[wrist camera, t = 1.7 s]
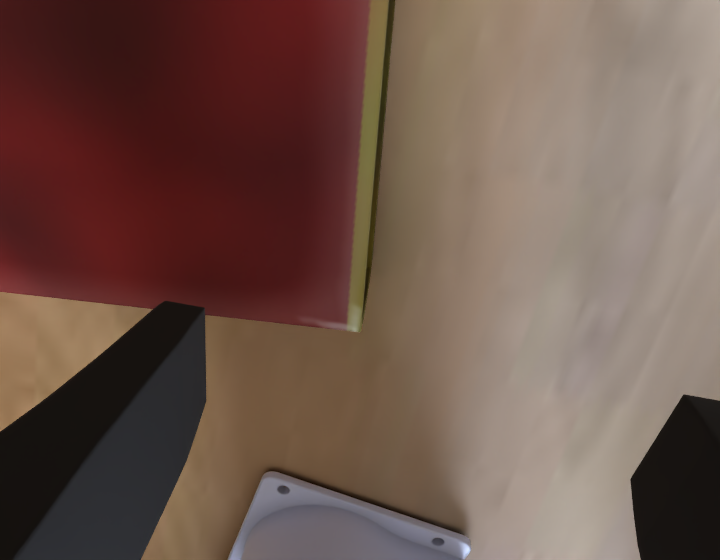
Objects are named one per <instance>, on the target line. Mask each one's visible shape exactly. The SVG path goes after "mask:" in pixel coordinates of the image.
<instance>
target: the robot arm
mask: <svg viewBox="0 0 720 560" xmlns="http://www.w3.org/2000/svg"><path fill="white" fill-rule="evenodd" d="M205 403H206V350H205V308H204V307H198V306H193V305H187V304H182V303H176V302H171V301H164V302H162V303H160V304H159V305H158V306H156V307H155V308H154V309H153V310H152V311H151V312H149V313H148V314H147V315H146V316H145V317H144V318H143V319H141V320H140V321H139V322H138V323H137V324H136V325H135V326H133V327H132V328H131V329H130V330H129V331H128V332H126V333H125V334H124V335H123V336H122V337H121V338H119V339H118V340H117V341H116V342H115V343H114V344H112V345H111V346H110V347H109V348H108V349H106V350H105V351H104V352H103V353H102V354H101V355H99V356H98V357H97V358H96V359H95V360H93V361H92V362H91V363H90V364H88V365H87V366H86V367H85V368H83V369H82V370H81V371H80V372H78V373H77V374H76V375H75V376H73V377H72V378H71V379H70V380H68V381H67V382H66V383H65V384H63V385H62V386H61V387H60V388H58V389H57V390H56V391H55V392H53V393H52V394H51V395H50V396H48V397H47V398H46V399H44V400H43V401H42V402H40V403H39V404H38V405H36V406H35V407H34V408H32V409H31V410H29V411H28V412H27V413H25V414H24V415H23V416H21V417H20V418H19V419H17V420H16V421H14V422H13V423H12V424H10V425H9V426H8V427H6V428H5V429H3V430H2V431H1V432H0V560H141V558H142V556H143V553H144V551H145V549H146V547H147V545H148V543H149V541H150V538H151V536H152V534H153V532H154V530H155V528H156V526H157V524H158V521H159V519H160V517H161V515H162V513H163V511H164V509H165V506H166V504H167V502H168V500H169V498H170V496H171V494H172V491H173V489H174V487H175V485H176V483H177V481H178V478H179V476H180V474H181V472H182V470H183V467H184V465H185V463H186V461H187V458H188V455H189V452H190V449H191V446H192V443H193V440H194V437H195V434H196V431H197V428H198V425H199V422H200V419H201V416H202V413H203V410H204V406H205ZM282 485H283V486H286V487H283V486H282ZM631 489H632V500H633V511H634V520H635V527H636V535H637V543H638V548H639V552H640V557H641V560H720V401H717V400H712V399H706V398H701V397H695V396H690V395H683V396H682V398H681V399H680V401H679V403H678V404H677V406H676V407H675V409H674V411H673V412H672V414H671V415H670V417H669V419H668V420H667V422H666V423H665V425H664V426H663V428H662V430H661V431H660V433H659V434H658V436H657V438H656V439H655V441H654V442H653V444H652V446H651V447H650V449H649V450H648V452H647V454H646V455H645V457H644V458H643V460H642V461H641V463H640V465H639V466H638V468H637V469H636V471H635V473H634V474H633V476H632V477H631ZM470 550H471V542H470V539H469V538H468V537H466V536H464V535H462V534H459V533H456V532H453V531H450V530H447V529H444V528H441V527H438V526H435V525H432V524H429V523H426V522H423V521H420V520H417V519H415V518H412V517H409V516H406V515H403V514H400V513H397V512H394V511H391V510H388V509H385V508H382V507H379V506H376V505H373V504H370V503H367V502H364V501H361V500H358V499H355V498H352V497H350V496H347V495H344V494H341V493H338V492H335V491H332V490H329V489H326V488H323V487H320V486H317V485H314V484H311V483H308V482H305V481H302V480H299V479H296V478H293V477H290V476H287V475H285V474H282V473H279V472H275V471H270V472H267V473H265V474H264V475H263V476H262V479H261V481H260V484H259V486H258V488H257V491H256V493H255V495H254V498H253V500H252V502H251V505H250V507H249V510H248V512H247V514H246V517H245V519H244V521H243V524H242V526H241V528H240V531H239V533H238V536H237V538H236V540H235V543H234V545H233V547H232V550H231V552H230V554H229V557H228V559H227V560H464V559H465V558H466V556H467V555H468V554H469V552H470Z"/></svg>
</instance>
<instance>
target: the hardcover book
mask: <svg viewBox="0 0 720 560" xmlns="http://www.w3.org/2000/svg"><path fill="white" fill-rule="evenodd" d="M394 9H395V0H0V292H7V293H16V294H25V295H34V296H43V297H52V298H61V299H70V300H78V301H87V302H96V303H105V304H114V305H123V306H132V307H140V308H149V309H154V308H155V307H156V306H158V305H159V304H160V303H162V302H164V301H171V302H176V303H182V304H187V305H193V306H198V307H204V308H205V315H211V316H220V317H229V318H238V319H247V320H256V321H265V322H274V323H282V324H291V325H300V326H309V327H318V328H327V329H336V330H344V331H353V332H361V329H362V324H363V319H364V313H365V307H366V301H367V295H368V288H369V282H370V274H371V266H372V255H373V244H374V233H375V221H376V210H377V199H378V188H379V177H380V166H381V154H382V143H383V132H384V121H385V110H386V98H387V87H388V76H389V65H390V54H391V43H392V31H393V20H394Z"/></svg>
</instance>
